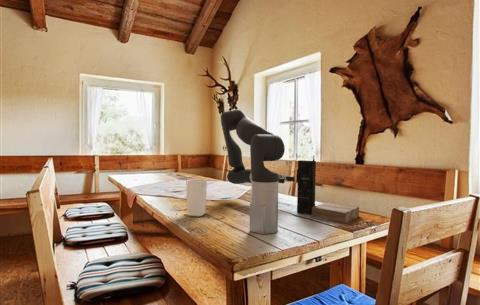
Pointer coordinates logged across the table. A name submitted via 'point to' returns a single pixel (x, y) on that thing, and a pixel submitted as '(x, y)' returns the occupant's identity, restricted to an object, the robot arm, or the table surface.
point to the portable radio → (306, 186)
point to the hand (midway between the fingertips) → (289, 180)
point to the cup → (196, 196)
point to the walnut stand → (335, 212)
